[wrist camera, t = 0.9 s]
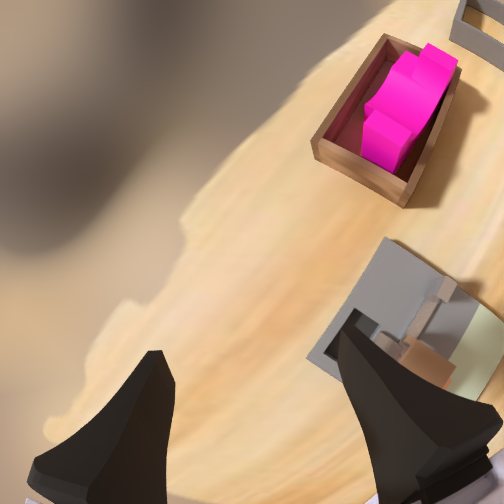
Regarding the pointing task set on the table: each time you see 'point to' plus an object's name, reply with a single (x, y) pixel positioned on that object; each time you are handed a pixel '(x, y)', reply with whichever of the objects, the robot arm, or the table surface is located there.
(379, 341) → the sled
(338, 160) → the wooden caddy
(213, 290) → the table surface
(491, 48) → the tray
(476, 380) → the track
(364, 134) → the toy block
